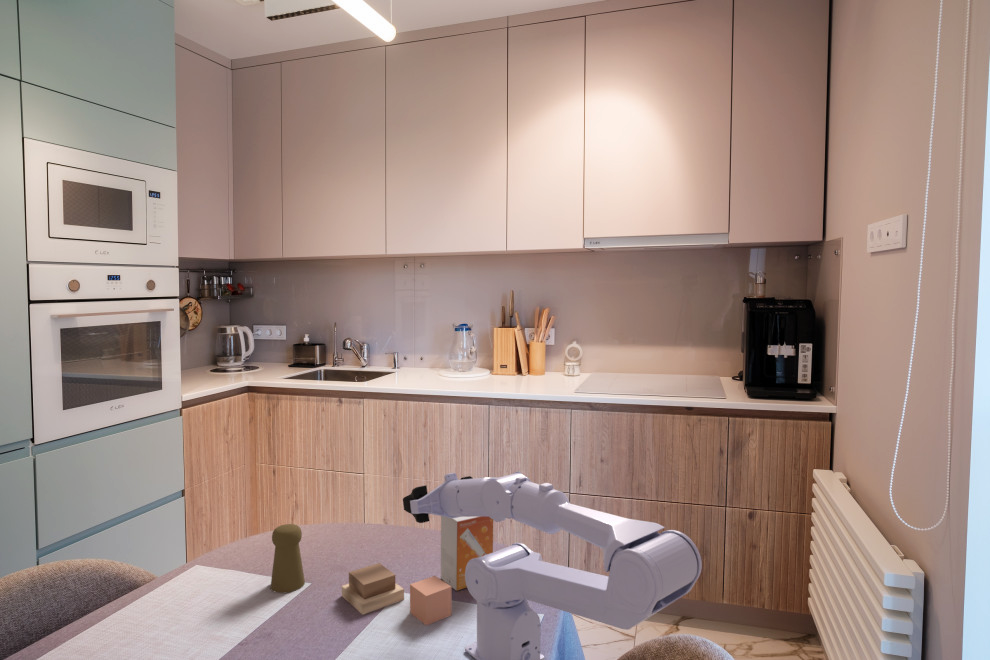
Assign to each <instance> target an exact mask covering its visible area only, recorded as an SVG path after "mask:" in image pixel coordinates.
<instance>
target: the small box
mask: <svg viewBox="0 0 990 660" xmlns="http://www.w3.org/2000/svg"><path fill="white" fill-rule="evenodd" d="M493 552H494V520H493V519H491V518H490V517H489V516H473V517H458V518H448V517H443V516H440V579H441V580H442V581H444V582H445V583H447V584H448V585H450V586H451V589H453V590H455V591H456V592H457V591H460V590H463V589H466V588H467V585H466V581H465V570H466V565H467V563H468V562H469V561H470V560H471V559H473V558H479V557H482V556H485V555H487V554H490V553H493ZM467 589H468V588H467Z"/></svg>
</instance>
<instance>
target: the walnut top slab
mask: <svg viewBox="0 0 990 660" xmlns="http://www.w3.org/2000/svg"><path fill="white" fill-rule="evenodd" d="M395 583H396V574H395V573H394V572H392V571H391V570H390V569H388V567H385V566H384V565H383V564H381V563H379V562H378V563H376V564H371V565H368V566H365V567H362V568H359V569H355V570H352V571H348V584H349V586H350V587H351V588H352V589H353V590H354V591H355V592H356V593H358V594H359V595H360V596H361V597H362V598H363V599H366V598H369V597H372V596H375V595H378V594H381V593H384V592H387V591H390V590H393V589H395Z"/></svg>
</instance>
